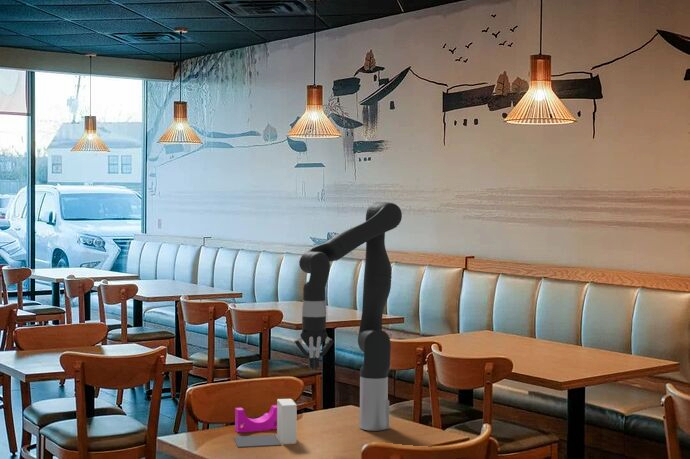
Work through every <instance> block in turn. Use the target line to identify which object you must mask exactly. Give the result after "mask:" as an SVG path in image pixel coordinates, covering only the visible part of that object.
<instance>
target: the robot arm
mask: <svg viewBox="0 0 690 459" xmlns="http://www.w3.org/2000/svg"><path fill="white" fill-rule="evenodd" d="M402 217H403V213H402V210H401V208H400V207H399V206H398V205H397V204H396V203H394V202H386V201H385V202H382V201H376V202H372V203H370V205H368V207H367V209H366V213H365V221H363V222H362V223H360V224H357V225H356V226H352V227H350V228H348V229H345V230H343V231H341V232H340V233H337V234H336V235H334V236H332V237H331V238H330V239H329V240H327V241H326V242H324V243H321V244H319V245H316V246H315V247H312V248H311V249H308V250H306V251H305V252H304V253H303V254H302V255H301V257H300V259H299V262H298V264H299V268H300V270H301V271H303V273H306V274H310V275H309V279H308V281H306V282H305V283H304V284H303V289H302V290H303V292H302V295H303V298H302V299H303V300H302V308H301V309H302V310H301V316H302V318H301V333H300V336H299V337H298V338H296V339H294V341H293V343H294V344H295V345H296V347H297V348H298V350H299V351H300V353H301V354H302V355H303V356H305V357H307V358H308V368H310V370H311V371H312V370H313V371H317V369H318V368H319V367H320V358H321V357H324V356H325V355H326V354H327V353H328V351H329V350H330V348H331V347H332V345H334V343H335V341H334V339H332V338H330V337H329V336H328V333H327V305H326V286H327V283H328V279H329V275H330V270H331V269H330V268H331V262H337V261H339V260H340V259H342V258H344V257H345V256H346V255H348V254H350V253H351V252H352V251H354V250H356V249H357V248H358V247H360V246H361V245H363V244H365V260H364V261H365V262H364V273H363V287H362V288H363V290H362V307H361V308H362V310H361V318H360V324H359V329H358V335H357V344H358V347H359V349H360V351H361V352H363V364H362V366H361V367H360V371H359V428H360V429H361V430H365V431H373V432H374V431H375V432H376V431H384V430H390V400H389V399H388V394H389V393H388V392H389V391H388V388H389V386H388V385H389V371H390V366H391V352H392V347H391V346H392V345H391V338H390V336H389V334H388V333H387V332H386V331H384V330H383V316H384V315H383V314H384V310H385V307H386V303H387V301H388V298H389V296H390V292H391V289H392V277H393V275H392V274H393V269H392V265H391V261H390V258H389V255H388V252H387V250H386V244H385V241H386V240H385V239H386V238H385V237H386V235H385V234H386V233H387V232H389V231H392V230H394V229H396V228H397V227H398V226H399V225H400V224H401V222H402V219H403V218H402ZM324 342H325V343H324ZM303 343H304V344H305V345H306V346H307V350H306V349H305V347H304V346H303ZM323 344H324V346H322V345H323ZM321 346H322V348H321Z"/></svg>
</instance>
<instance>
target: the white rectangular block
mask: <svg viewBox="0 0 690 459" xmlns="http://www.w3.org/2000/svg"><path fill="white" fill-rule="evenodd" d="M276 405H277V430H276V436H277V438H278V440H279V441H280V443H281V444H282V445H295V444H297V422H298V421H297V410H298V409H297V408H298V407H297V403H296V402H295V401H294V400H293V399H292V398H277V401H276Z"/></svg>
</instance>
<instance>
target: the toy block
mask: <svg viewBox="0 0 690 459" xmlns="http://www.w3.org/2000/svg"><path fill="white" fill-rule="evenodd" d="M234 410H235V411H234V415H235V416H234V417H235V418H234V430H235V432H236V433H238V432H239V433H250V432H261V431H262V432H263V430H264V431H271V430H270V429H277V404H274V405H273V404H272V405H271V406H270V410H269V412H265V413H263V415H262V416H259V417H257V418H250V417H248V416H247V415H246V413H245V409H244V408H243V407H235V408H234Z"/></svg>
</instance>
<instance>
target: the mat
mask: <svg viewBox="0 0 690 459" xmlns="http://www.w3.org/2000/svg"><path fill="white" fill-rule="evenodd" d="M232 437H233V440H234V442H235V444H236V447H237V448H255V447H273V446H274V447H276V446H282V445H283V444H282V443H281V442H280V440H279V439H278V437H277V434H260V435H259V434H258V435H257V434H256V435H255V434H254V435H237V436H236V435H235V436H232Z"/></svg>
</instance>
